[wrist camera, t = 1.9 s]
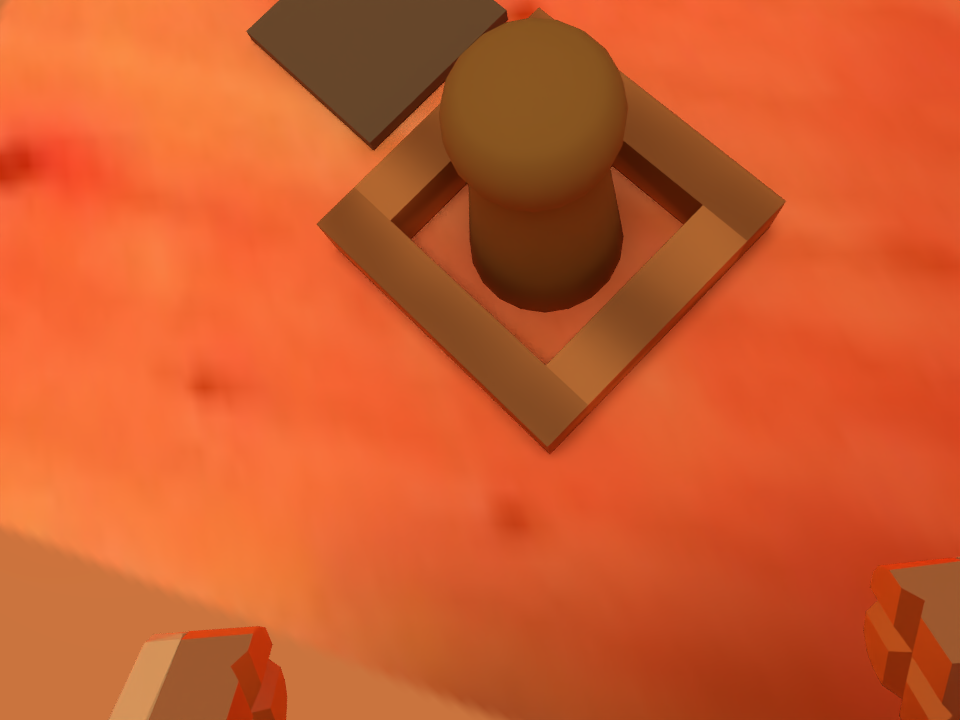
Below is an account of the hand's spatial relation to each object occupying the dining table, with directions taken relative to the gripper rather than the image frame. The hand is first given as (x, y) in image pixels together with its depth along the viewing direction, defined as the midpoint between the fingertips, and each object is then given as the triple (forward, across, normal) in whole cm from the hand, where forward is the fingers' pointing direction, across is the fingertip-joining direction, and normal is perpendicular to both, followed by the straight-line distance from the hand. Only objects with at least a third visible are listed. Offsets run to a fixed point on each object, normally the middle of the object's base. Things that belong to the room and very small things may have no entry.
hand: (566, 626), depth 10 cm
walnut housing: (+22, -1, +2) cm, 22 cm away
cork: (+22, -2, +3) cm, 22 cm away
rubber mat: (+29, +5, -5) cm, 30 cm away
